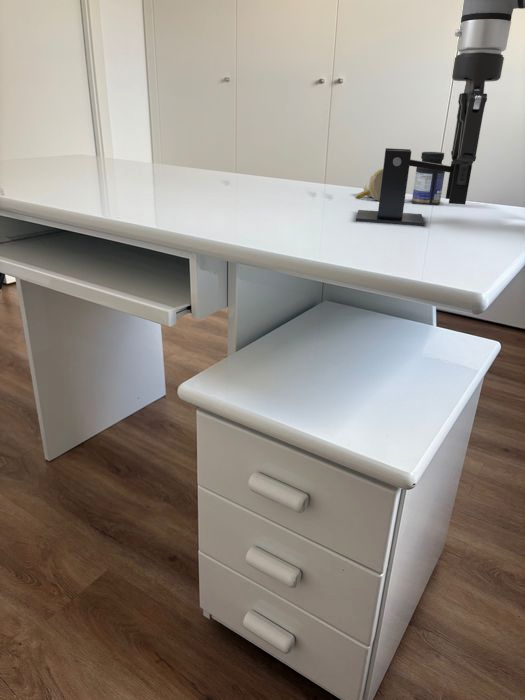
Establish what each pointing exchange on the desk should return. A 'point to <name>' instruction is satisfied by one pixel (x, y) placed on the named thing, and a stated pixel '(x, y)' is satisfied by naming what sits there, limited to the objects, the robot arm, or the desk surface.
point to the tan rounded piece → (372, 186)
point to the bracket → (393, 192)
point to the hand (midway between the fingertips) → (455, 200)
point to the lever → (432, 166)
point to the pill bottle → (428, 181)
